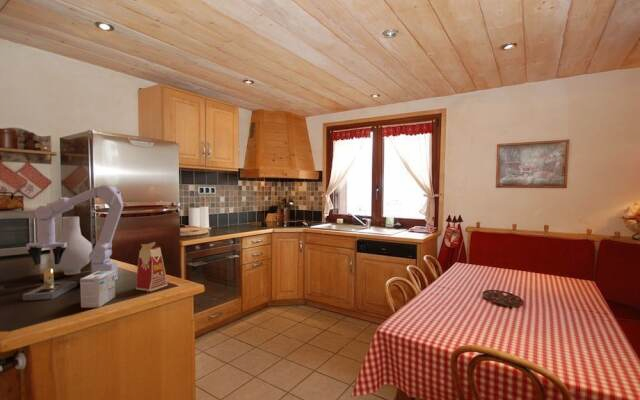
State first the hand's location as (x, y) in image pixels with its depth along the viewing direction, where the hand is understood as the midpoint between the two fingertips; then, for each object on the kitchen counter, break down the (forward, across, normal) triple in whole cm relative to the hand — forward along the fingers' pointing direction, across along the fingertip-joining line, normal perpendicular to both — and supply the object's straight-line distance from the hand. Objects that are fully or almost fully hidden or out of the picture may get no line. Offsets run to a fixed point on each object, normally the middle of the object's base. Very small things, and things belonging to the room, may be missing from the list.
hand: (47, 264), depth 139 cm
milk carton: (+9, +45, -9) cm, 47 cm away
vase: (+9, -1, +19) cm, 21 cm away
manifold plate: (+9, +8, -12) cm, 17 cm away
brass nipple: (+9, 0, 0) cm, 9 cm away
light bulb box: (+9, +32, -25) cm, 42 cm away
